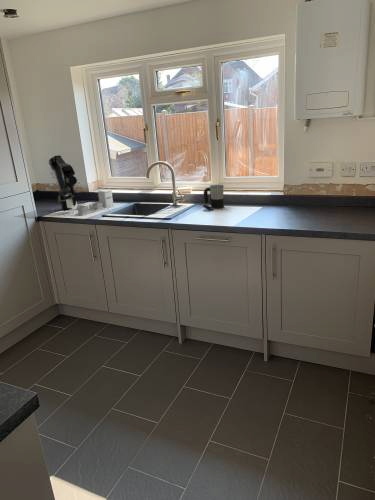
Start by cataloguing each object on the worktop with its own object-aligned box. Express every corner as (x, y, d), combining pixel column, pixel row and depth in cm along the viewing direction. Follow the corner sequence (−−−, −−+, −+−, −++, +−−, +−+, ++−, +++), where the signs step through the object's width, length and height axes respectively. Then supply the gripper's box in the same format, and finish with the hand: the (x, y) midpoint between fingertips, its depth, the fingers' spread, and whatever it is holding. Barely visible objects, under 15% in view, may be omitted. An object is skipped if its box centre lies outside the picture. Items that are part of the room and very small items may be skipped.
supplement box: (106, 208, 292) (104, 191, 288) (99, 208, 296) (97, 191, 293) (113, 206, 298) (111, 189, 294) (107, 206, 302) (105, 189, 298)
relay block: (77, 209, 297) (76, 205, 296) (79, 208, 301) (79, 203, 299) (81, 209, 296) (81, 205, 295) (84, 208, 299) (83, 203, 298)
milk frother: (224, 205, 275) (223, 184, 270) (224, 210, 260) (223, 187, 255) (204, 206, 276) (202, 185, 272) (202, 211, 261) (201, 189, 257)
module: (67, 207, 285) (66, 199, 283) (73, 206, 289) (71, 197, 287) (71, 208, 283) (70, 199, 281) (77, 206, 287) (76, 198, 285)
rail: (76, 215, 277) (75, 207, 276) (99, 208, 295) (98, 201, 293) (82, 215, 274) (81, 207, 272) (105, 208, 291) (104, 201, 290)
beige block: (89, 209, 294) (88, 204, 293) (93, 208, 297) (92, 203, 296) (93, 210, 291) (92, 205, 290) (97, 209, 293) (96, 204, 292)
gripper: (50, 185, 279) (54, 207, 284) (69, 185, 269) (72, 208, 274) (63, 182, 288) (66, 203, 293) (81, 183, 278) (84, 205, 283)
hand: (72, 205), depth 286 cm, fingers closed on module, 4 cm apart
